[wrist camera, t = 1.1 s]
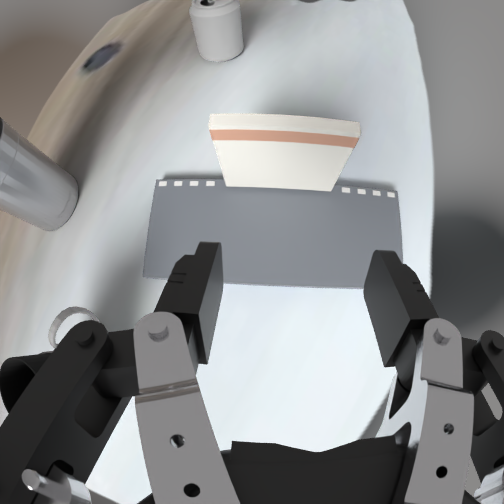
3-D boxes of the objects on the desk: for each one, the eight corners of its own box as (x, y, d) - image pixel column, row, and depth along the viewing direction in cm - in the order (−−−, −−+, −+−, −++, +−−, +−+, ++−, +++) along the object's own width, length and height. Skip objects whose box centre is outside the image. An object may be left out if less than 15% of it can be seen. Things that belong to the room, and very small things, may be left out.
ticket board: (147, 278, 33) (142, 276, 32) (160, 184, 36) (156, 179, 34) (397, 289, 32) (403, 288, 30) (392, 195, 34) (397, 190, 33)
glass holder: (68, 379, 31) (-10, 398, 16) (105, 292, 33) (23, 277, 18) (116, 418, 30) (47, 461, 15) (160, 330, 32) (89, 339, 17)
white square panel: (226, 186, 33) (208, 125, 21) (227, 176, 33) (210, 113, 21) (331, 191, 32) (361, 134, 20) (330, 182, 32) (359, 122, 21)
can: (192, 51, 41) (179, -1, 29) (229, 35, 41) (223, -16, 30) (212, 70, 39) (200, 13, 28) (252, 54, 40) (249, -3, 28)
